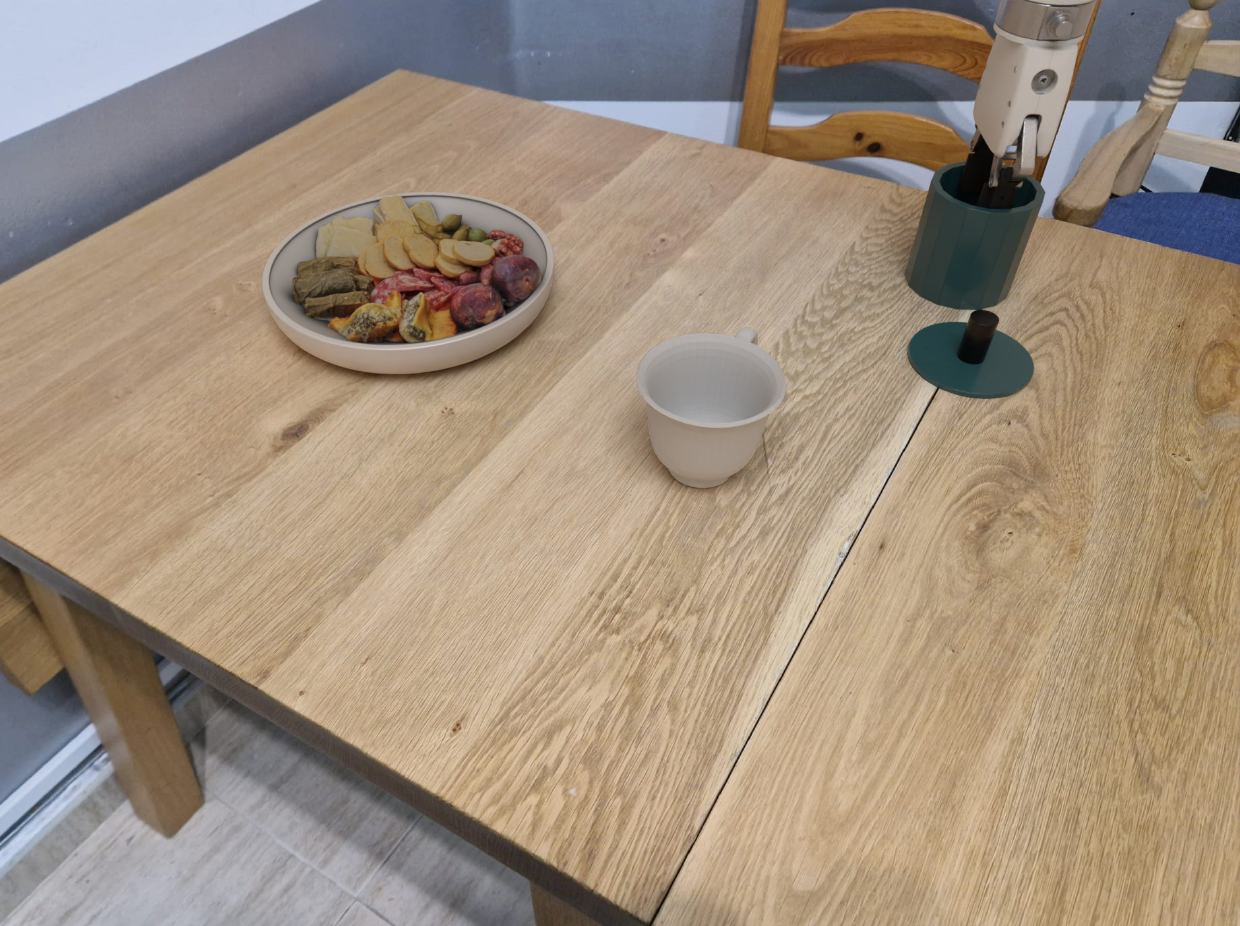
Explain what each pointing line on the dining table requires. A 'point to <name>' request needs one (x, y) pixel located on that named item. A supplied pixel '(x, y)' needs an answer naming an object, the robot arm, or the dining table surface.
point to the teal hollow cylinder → (969, 243)
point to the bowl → (409, 281)
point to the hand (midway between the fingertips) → (981, 204)
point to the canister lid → (971, 357)
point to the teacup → (708, 403)
